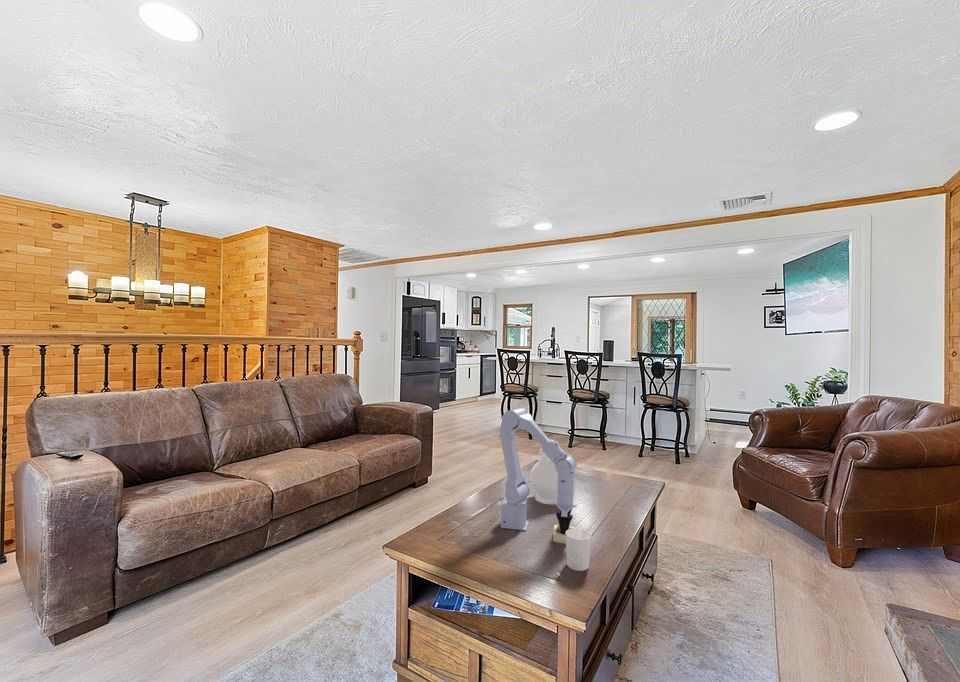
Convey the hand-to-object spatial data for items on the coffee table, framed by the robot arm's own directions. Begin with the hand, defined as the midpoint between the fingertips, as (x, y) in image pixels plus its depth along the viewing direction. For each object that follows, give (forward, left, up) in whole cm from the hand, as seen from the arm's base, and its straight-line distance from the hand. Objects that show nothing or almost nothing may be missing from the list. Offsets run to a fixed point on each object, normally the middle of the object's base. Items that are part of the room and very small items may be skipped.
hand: (564, 529), depth 153 cm
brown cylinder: (0, 0, -3) cm, 3 cm away
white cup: (+5, -18, -4) cm, 18 cm away
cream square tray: (0, 0, -3) cm, 3 cm away
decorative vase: (-8, +37, -4) cm, 38 cm away
